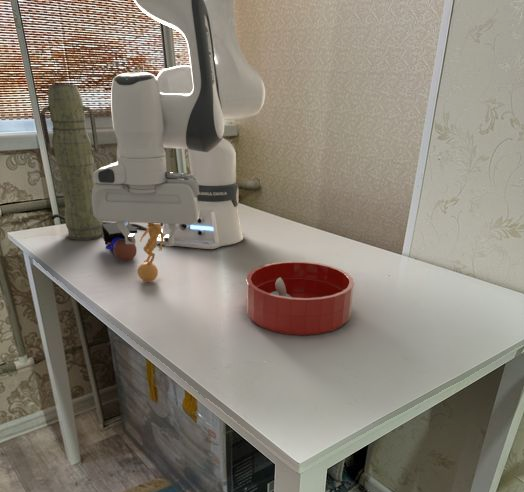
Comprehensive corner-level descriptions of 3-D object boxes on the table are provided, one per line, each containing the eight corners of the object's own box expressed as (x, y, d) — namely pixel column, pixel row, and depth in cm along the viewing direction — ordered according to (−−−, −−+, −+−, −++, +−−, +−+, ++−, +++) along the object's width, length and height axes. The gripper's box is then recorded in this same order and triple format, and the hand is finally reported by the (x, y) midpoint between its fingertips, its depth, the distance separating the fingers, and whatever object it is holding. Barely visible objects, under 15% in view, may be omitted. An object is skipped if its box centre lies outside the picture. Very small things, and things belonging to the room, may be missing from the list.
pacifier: (296, 301, 94) (265, 303, 93) (298, 269, 91) (266, 271, 90) (309, 318, 88) (276, 320, 87) (312, 284, 85) (278, 286, 84)
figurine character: (101, 252, 124) (113, 264, 111) (96, 221, 121) (108, 230, 109) (129, 249, 127) (143, 260, 114) (124, 218, 124) (139, 226, 111)
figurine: (130, 278, 106) (122, 220, 100) (156, 271, 109) (149, 215, 103) (150, 289, 100) (142, 229, 94) (176, 281, 103) (170, 223, 97)
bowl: (240, 333, 84) (240, 297, 81) (251, 291, 100) (251, 259, 97) (354, 338, 83) (358, 302, 79) (346, 295, 99) (349, 263, 96)
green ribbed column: (60, 233, 133) (32, 83, 117) (105, 228, 138) (86, 83, 121) (64, 242, 126) (36, 84, 110) (112, 237, 131) (92, 84, 114)
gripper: (201, 170, 96) (204, 241, 103) (96, 167, 97) (106, 238, 104) (194, 176, 91) (198, 251, 97) (83, 173, 92) (94, 247, 99)
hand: (149, 244), depth 101 cm, fingers open, 6 cm apart
